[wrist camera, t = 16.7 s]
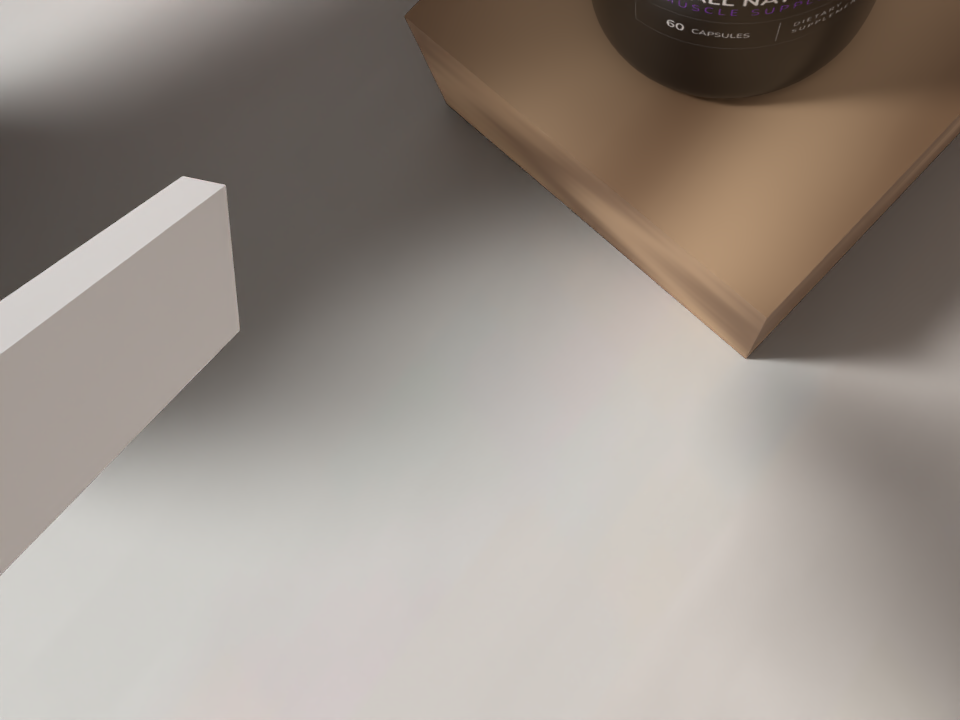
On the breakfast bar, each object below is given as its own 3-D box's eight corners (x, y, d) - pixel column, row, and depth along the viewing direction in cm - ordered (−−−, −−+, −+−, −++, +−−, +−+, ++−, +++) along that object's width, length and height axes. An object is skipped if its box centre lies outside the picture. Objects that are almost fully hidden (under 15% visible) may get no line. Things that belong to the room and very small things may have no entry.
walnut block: (446, 103, 28) (404, 16, 24) (710, -175, 28) (722, -319, 24) (745, 358, 25) (767, 317, 20) (1041, 46, 25) (1132, -69, 21)
